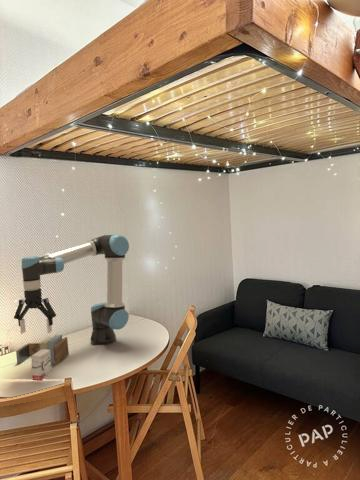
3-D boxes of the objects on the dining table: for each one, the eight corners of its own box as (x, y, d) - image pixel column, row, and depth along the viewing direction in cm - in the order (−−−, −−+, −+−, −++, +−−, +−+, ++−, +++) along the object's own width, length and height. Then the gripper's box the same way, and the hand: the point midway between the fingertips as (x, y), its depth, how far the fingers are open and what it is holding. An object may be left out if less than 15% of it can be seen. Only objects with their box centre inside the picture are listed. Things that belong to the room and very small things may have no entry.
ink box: (41, 381, 154) (39, 356, 154) (32, 380, 155) (30, 356, 155) (52, 372, 163) (50, 348, 162) (43, 372, 164) (41, 348, 163)
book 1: (57, 356, 179) (55, 336, 178) (49, 363, 171) (47, 342, 170) (50, 356, 180) (48, 337, 179) (41, 363, 171) (39, 343, 170)
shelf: (68, 356, 181) (67, 337, 180) (57, 367, 168) (55, 346, 168) (29, 357, 184) (27, 337, 183) (15, 367, 171) (13, 347, 170)
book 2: (64, 356, 179) (62, 334, 178) (55, 363, 170) (53, 341, 169) (57, 356, 179) (55, 334, 178) (49, 363, 170) (47, 341, 170)
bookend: (30, 356, 181) (28, 344, 181) (20, 364, 172) (18, 350, 172) (27, 356, 181) (26, 344, 181) (17, 364, 173) (16, 351, 172)
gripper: (61, 286, 160) (64, 329, 162) (13, 288, 163) (17, 330, 165) (53, 289, 153) (57, 334, 154) (3, 291, 156) (7, 335, 157)
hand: (36, 332), depth 159 cm, fingers open, 13 cm apart
